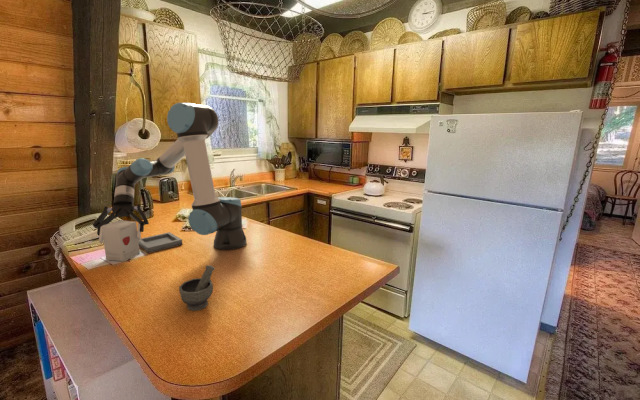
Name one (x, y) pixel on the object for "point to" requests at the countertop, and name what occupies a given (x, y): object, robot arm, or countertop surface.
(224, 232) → the robot arm
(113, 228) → the supplement box
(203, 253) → the countertop surface
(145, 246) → the charcoal tray
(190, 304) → the mortar and pestle
